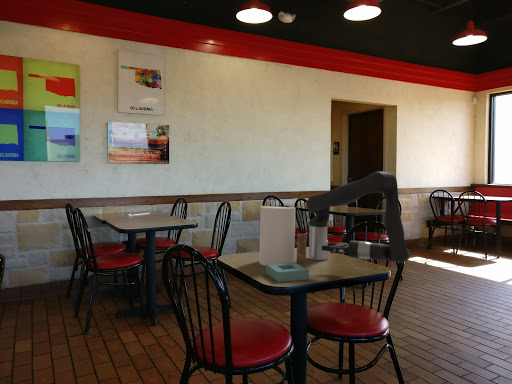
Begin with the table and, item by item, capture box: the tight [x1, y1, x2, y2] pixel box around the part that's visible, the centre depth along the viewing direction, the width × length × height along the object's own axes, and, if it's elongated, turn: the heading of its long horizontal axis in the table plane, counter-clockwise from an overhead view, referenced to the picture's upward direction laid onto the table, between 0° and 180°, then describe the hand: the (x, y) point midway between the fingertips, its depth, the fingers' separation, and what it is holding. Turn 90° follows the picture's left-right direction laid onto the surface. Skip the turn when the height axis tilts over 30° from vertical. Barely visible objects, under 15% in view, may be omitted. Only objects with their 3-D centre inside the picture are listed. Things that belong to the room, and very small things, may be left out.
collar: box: [265, 262, 310, 283], centre depth 171 cm, size 14×14×4 cm
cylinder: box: [258, 205, 296, 267], centre depth 195 cm, size 17×17×28 cm
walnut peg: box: [296, 233, 308, 269], centre depth 186 cm, size 4×4×16 cm
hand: (324, 246), depth 180 cm, fingers open, 8 cm apart
